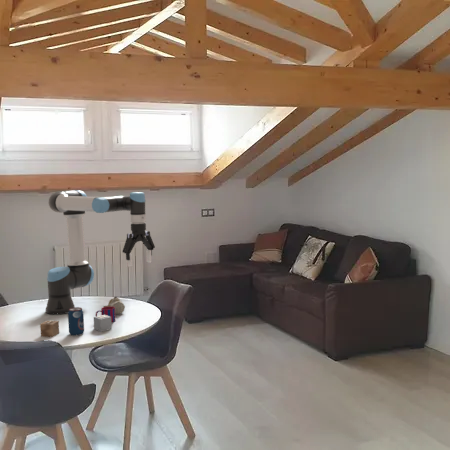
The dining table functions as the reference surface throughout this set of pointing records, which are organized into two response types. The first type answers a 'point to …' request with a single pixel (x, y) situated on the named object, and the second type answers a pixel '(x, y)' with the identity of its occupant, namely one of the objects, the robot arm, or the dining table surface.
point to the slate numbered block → (102, 323)
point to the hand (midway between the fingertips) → (139, 264)
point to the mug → (108, 312)
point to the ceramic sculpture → (116, 305)
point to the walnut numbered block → (49, 328)
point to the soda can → (76, 321)
